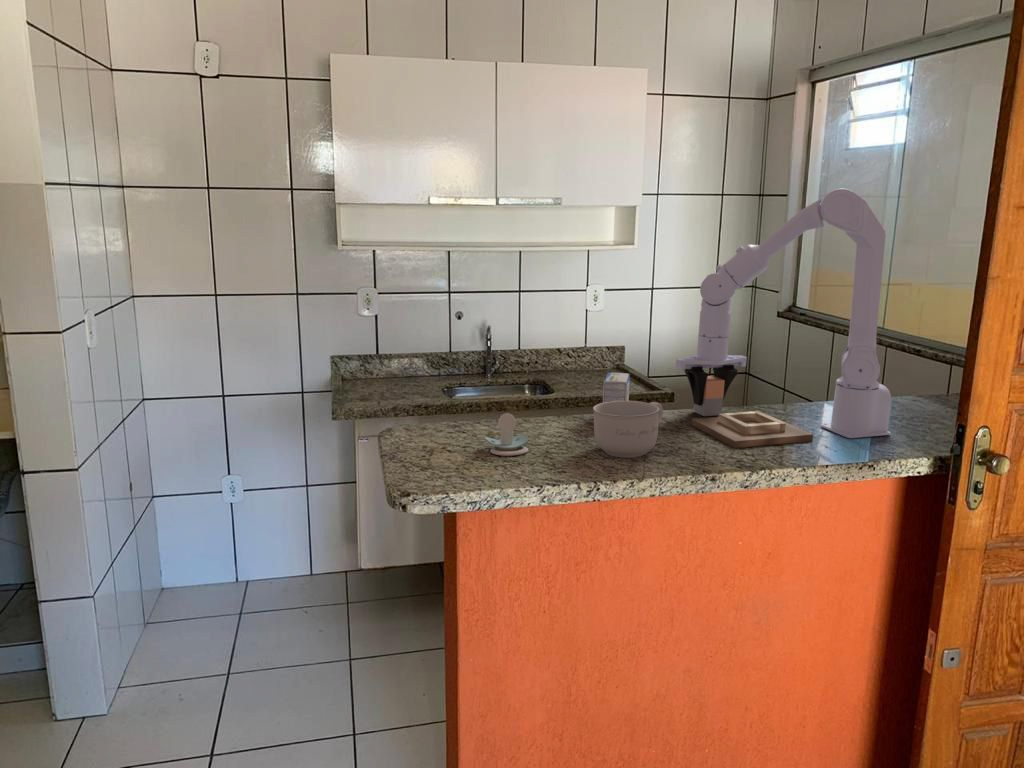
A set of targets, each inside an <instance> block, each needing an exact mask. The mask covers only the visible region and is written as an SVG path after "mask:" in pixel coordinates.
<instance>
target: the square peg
mask: <svg viewBox="0 0 1024 768" xmlns="http://www.w3.org/2000/svg"><path fill="white" fill-rule="evenodd" d="M724 383H725V380H723V379H720V378H718V377H715V376H714V375H708V377H707V380H706V384H705V388H704V398H703V403H702V405H700V406H699V405H697V404H695V403H694V402H693V407H692V409H693V410H695V411H693V410H692V411H693V412H694V413H696V414H698V415H700V416H702V417H716V416H719V414H723V403H724V401H723V395H724Z"/></svg>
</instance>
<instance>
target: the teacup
mask: <svg viewBox="0 0 1024 768" xmlns="http://www.w3.org/2000/svg"><path fill="white" fill-rule="evenodd" d="M592 412H593V433H594V440H595V443H596V445H597V446H598V447H599V448H600V449H601V450H603V451H604V453H606V454H607V455H609V456H612V457H615V458H622V459H624V458H629V459H630V458H638V457H641V456H644V455H646V454H647V453H648V452H649V451H651V449H653V448H654V447H655V445H656V444H657V440H658V435H659V425H660V423H661V421H662V418H663V417H664V409H663V406H662V404H661V403H660V402H657V401H651V402H645V401H639V400H638V401H637V400H629V401H610V402H604V403H603V402H601V403H598V404H596V405H594V406H593V407H592Z"/></svg>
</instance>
